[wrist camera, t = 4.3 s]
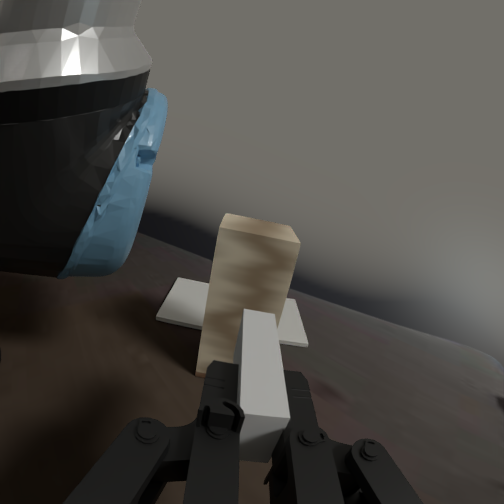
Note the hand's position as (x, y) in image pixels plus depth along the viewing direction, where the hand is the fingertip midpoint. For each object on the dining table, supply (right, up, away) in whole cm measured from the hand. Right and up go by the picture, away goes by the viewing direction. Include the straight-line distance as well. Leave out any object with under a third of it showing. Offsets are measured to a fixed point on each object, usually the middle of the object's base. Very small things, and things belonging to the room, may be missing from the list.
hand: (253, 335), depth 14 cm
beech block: (-2, -7, +14) cm, 16 cm away
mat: (-2, -4, +25) cm, 25 cm away
